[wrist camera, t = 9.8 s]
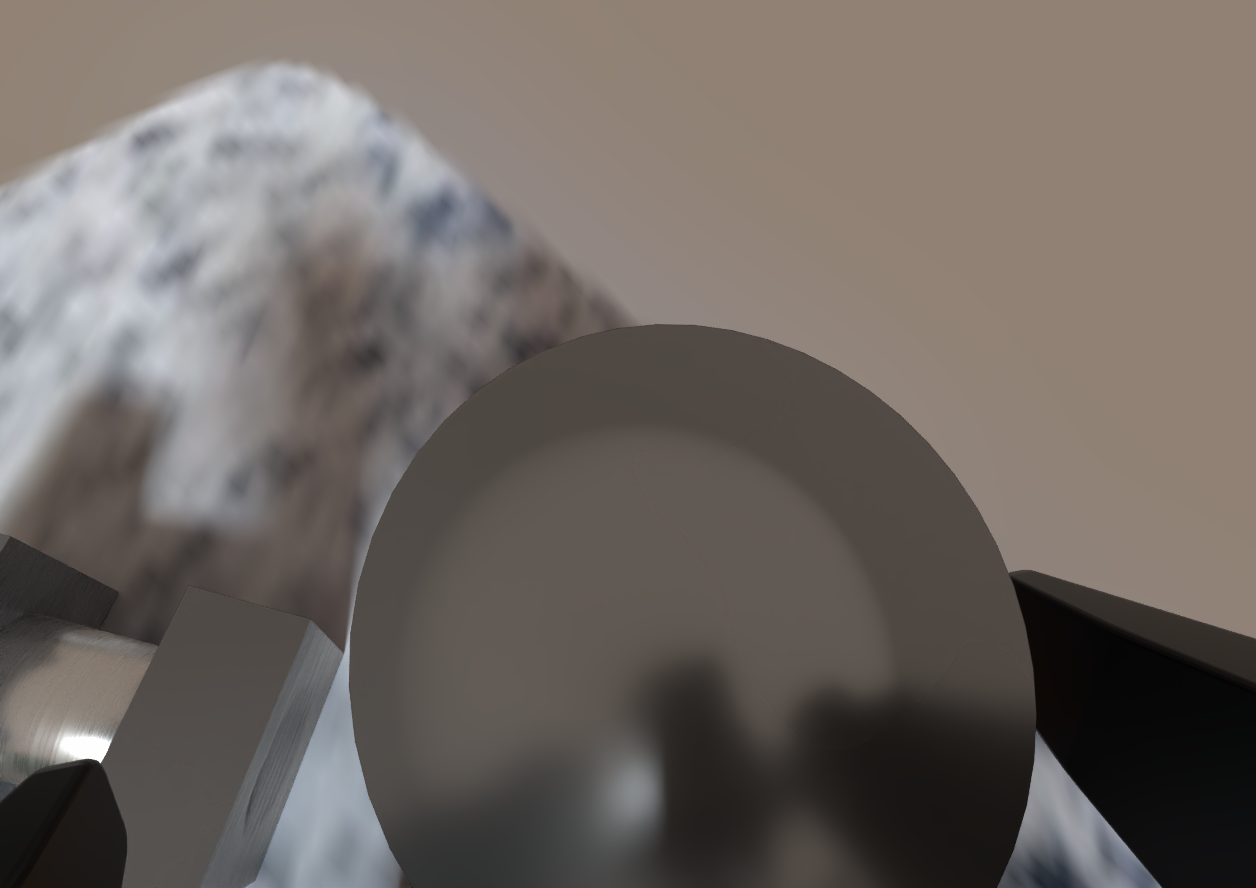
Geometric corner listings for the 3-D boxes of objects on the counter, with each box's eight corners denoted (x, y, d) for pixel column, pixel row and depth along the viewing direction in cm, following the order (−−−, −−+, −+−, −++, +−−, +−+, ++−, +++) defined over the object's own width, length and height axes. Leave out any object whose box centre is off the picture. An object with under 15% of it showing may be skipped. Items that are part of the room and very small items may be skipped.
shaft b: (343, 653, 17) (310, 619, 13) (255, 881, 15) (184, 924, 11) (20, 565, 16) (-122, 499, 12) (-115, 791, 14) (-338, 803, 10)
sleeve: (605, 867, 16) (1057, 1165, 4) (385, 816, 15) (178, 990, 4) (650, 646, 18) (1043, 415, 6) (456, 595, 17) (470, 234, 5)
